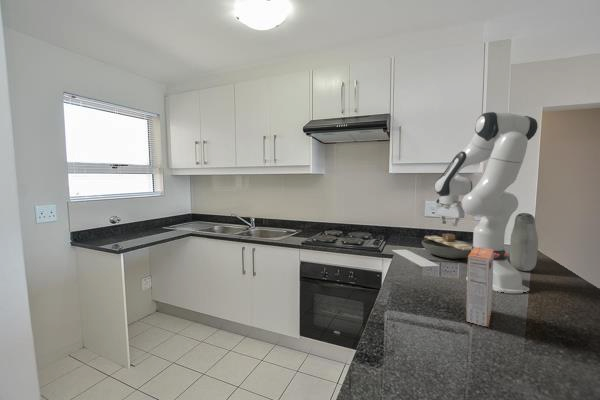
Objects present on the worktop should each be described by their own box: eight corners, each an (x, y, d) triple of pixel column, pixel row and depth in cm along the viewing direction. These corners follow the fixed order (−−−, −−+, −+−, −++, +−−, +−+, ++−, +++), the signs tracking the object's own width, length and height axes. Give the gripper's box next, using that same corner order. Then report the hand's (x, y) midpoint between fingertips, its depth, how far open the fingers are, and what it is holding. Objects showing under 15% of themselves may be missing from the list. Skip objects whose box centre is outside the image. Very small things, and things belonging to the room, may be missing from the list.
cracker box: (470, 306, 93) (473, 246, 92) (492, 311, 89) (495, 249, 88) (464, 322, 82) (466, 254, 81) (488, 329, 78) (491, 258, 77)
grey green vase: (540, 274, 125) (543, 214, 124) (514, 272, 129) (516, 213, 127) (530, 268, 135) (533, 212, 133) (505, 266, 138) (508, 211, 136)
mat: (439, 266, 137) (439, 265, 137) (421, 267, 136) (421, 266, 136) (406, 250, 171) (406, 249, 171) (391, 250, 170) (391, 249, 170)
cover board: (477, 249, 140) (477, 240, 140) (463, 250, 139) (464, 240, 138) (436, 237, 172) (436, 229, 172) (424, 237, 171) (424, 229, 171)
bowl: (475, 267, 137) (476, 251, 136) (416, 258, 153) (417, 244, 152) (477, 255, 159) (478, 241, 159) (426, 248, 175) (426, 236, 175)
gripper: (468, 201, 144) (467, 227, 145) (443, 200, 165) (443, 222, 165) (457, 201, 144) (456, 227, 144) (433, 200, 164) (433, 222, 164)
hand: (449, 224), depth 155 cm, fingers open, 8 cm apart
